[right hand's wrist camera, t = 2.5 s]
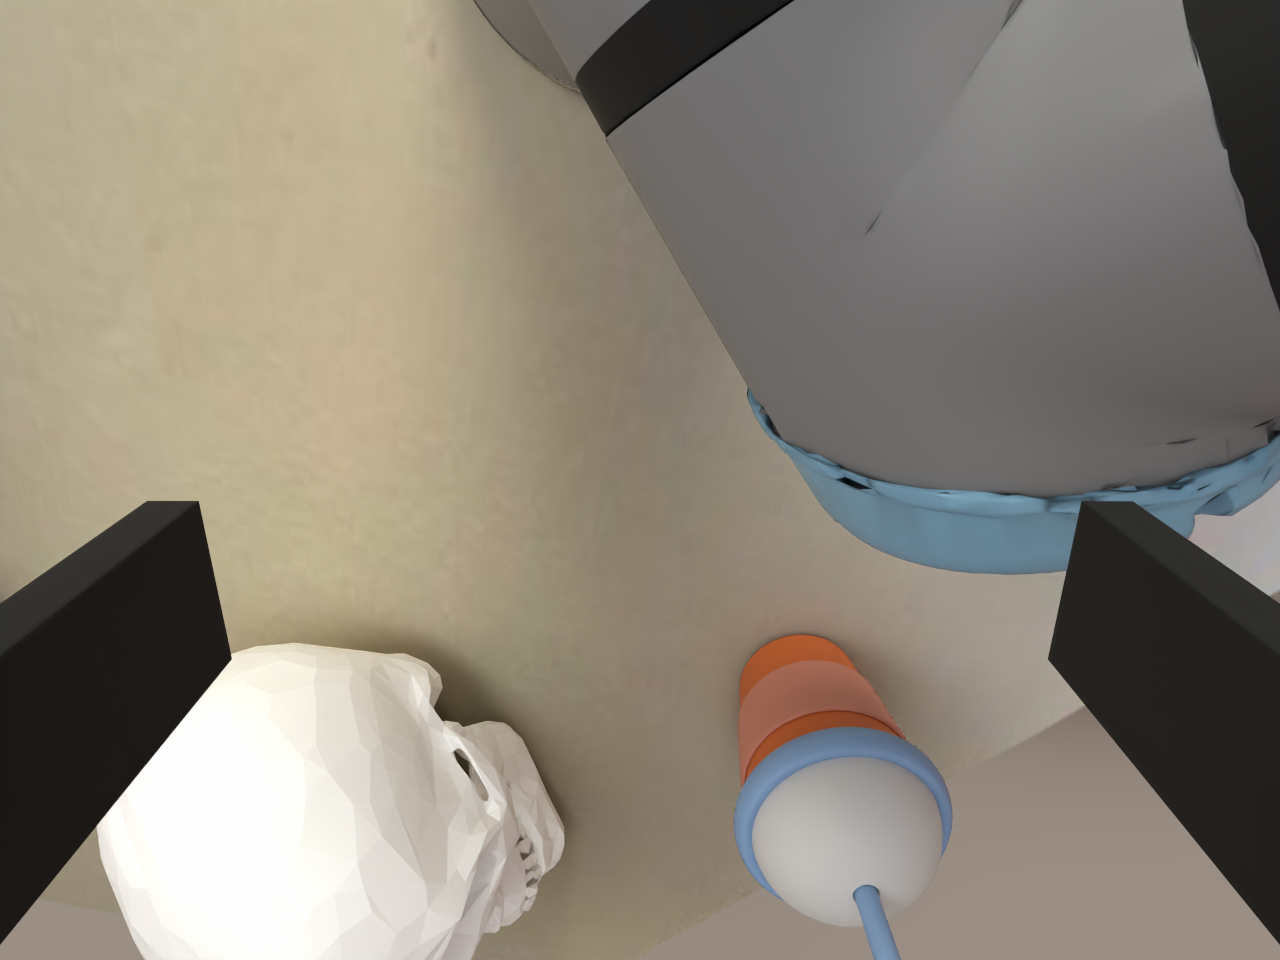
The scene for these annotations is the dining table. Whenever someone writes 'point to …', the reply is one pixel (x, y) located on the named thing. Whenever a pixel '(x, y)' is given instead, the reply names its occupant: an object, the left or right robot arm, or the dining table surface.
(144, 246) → the dining table surface
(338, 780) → the skull
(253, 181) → the dining table surface
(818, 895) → the cup with straw
